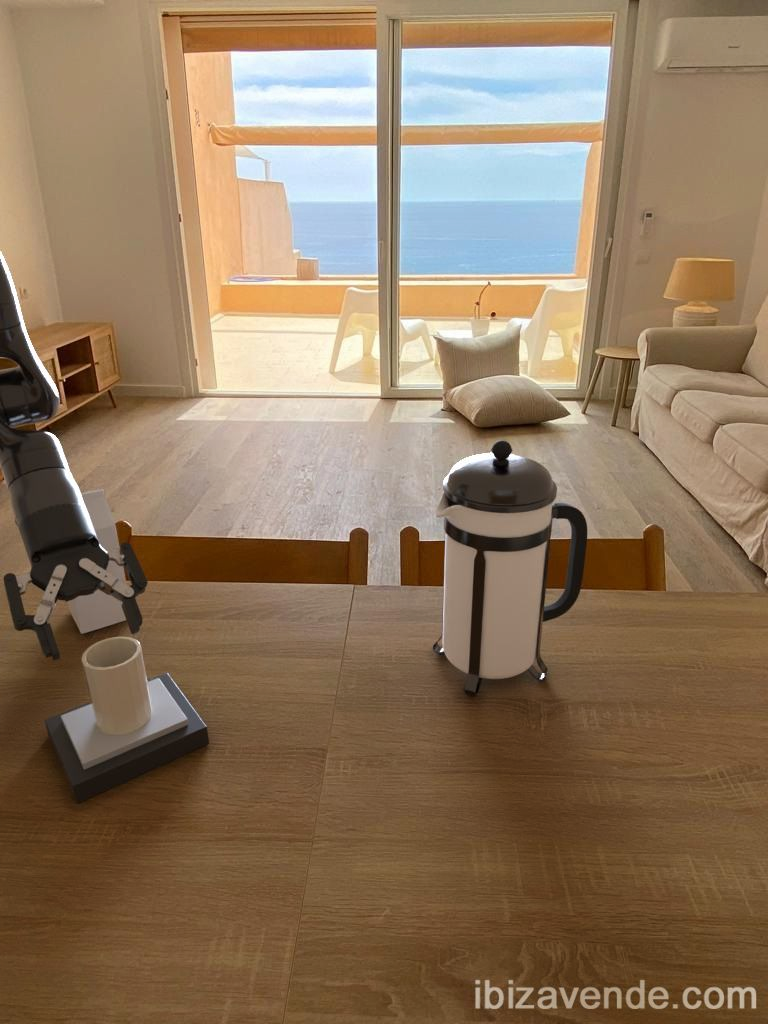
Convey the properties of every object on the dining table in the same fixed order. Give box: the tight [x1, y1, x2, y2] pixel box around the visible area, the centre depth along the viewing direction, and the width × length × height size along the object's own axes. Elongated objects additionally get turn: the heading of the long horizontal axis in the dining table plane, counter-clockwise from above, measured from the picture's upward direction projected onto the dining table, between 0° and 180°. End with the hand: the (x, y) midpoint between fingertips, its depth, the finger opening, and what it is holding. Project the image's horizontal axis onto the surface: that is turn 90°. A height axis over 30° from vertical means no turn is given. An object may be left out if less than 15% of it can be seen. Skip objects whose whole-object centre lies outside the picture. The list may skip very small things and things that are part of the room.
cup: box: [81, 636, 152, 735], centre depth 74 cm, size 6×6×8 cm
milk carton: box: [67, 488, 128, 635], centre depth 97 cm, size 7×7×19 cm
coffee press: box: [432, 439, 588, 697], centre depth 84 cm, size 17×16×30 cm
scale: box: [44, 672, 210, 805], centre depth 76 cm, size 14×12×3 cm
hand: (97, 644), depth 77 cm, fingers open, 8 cm apart
